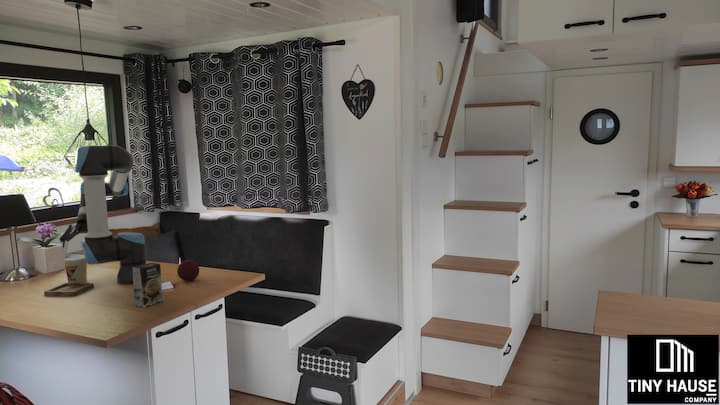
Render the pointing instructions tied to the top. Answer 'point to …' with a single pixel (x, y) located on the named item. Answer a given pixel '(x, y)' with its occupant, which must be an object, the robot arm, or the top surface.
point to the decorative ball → (188, 270)
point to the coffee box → (147, 284)
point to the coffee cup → (76, 269)
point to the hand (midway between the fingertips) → (80, 252)
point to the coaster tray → (69, 289)
